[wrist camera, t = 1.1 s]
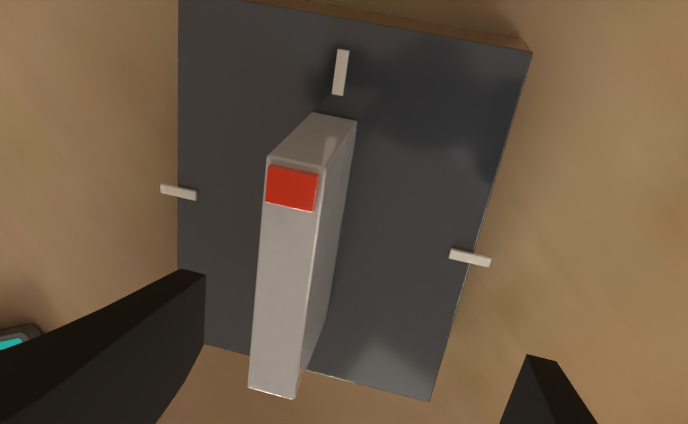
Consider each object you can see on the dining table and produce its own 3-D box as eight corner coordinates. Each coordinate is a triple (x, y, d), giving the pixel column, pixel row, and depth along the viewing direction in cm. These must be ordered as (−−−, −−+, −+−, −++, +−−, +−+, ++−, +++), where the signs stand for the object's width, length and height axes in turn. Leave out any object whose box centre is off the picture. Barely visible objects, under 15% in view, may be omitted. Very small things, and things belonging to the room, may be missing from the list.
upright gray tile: (326, 317, 21) (291, 407, 16) (287, 307, 21) (243, 394, 17) (358, 120, 17) (324, 170, 13) (311, 111, 17) (262, 157, 13)
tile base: (446, 357, 24) (443, 410, 21) (195, 295, 26) (162, 335, 23) (541, 42, 18) (555, 56, 15) (201, -18, 19) (157, -15, 16)
